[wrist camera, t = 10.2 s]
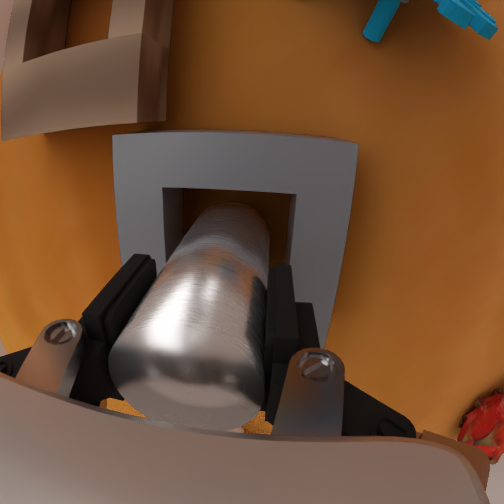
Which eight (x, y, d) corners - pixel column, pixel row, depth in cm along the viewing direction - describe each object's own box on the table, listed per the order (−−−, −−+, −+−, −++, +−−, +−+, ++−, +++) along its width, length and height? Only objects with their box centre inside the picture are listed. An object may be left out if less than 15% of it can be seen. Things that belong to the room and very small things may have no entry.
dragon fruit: (518, 352, 23) (448, 413, 29) (507, 380, 18) (420, 446, 25) (554, 402, 18) (480, 457, 24) (549, 440, 13) (456, 496, 19)
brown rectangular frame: (64, -45, 10) (33, -62, 7) (186, -78, 10) (168, -110, 6) (42, 133, 16) (1, 141, 12) (165, 120, 16) (136, 122, 12)
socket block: (140, 130, 16) (112, 135, 13) (341, 139, 16) (358, 143, 12) (151, 300, 20) (133, 331, 17) (316, 314, 20) (323, 349, 17)
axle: (191, 199, 16) (92, 314, 6) (272, 203, 15) (271, 335, 6) (193, 271, 17) (126, 419, 8) (266, 276, 17) (258, 439, 8)
